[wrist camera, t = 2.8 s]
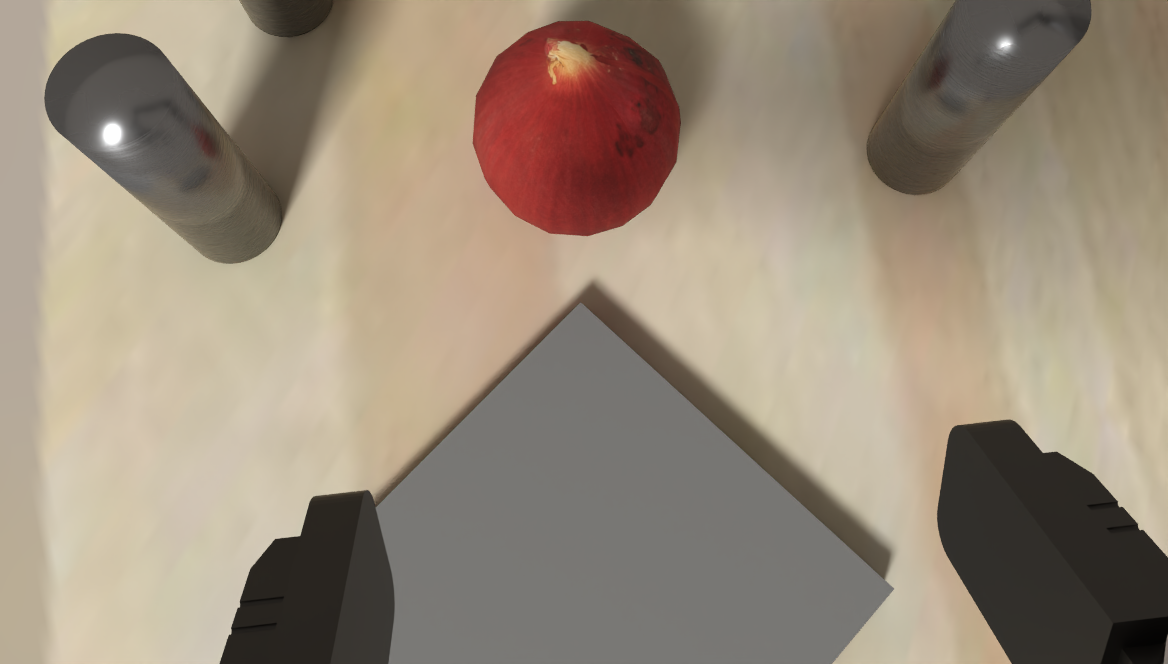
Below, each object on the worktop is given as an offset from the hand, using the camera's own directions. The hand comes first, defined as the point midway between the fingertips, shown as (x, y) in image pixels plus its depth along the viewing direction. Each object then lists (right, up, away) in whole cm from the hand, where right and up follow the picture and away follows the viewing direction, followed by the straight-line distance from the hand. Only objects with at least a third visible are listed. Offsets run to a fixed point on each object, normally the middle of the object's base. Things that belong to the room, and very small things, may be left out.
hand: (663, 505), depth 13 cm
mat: (-1, -5, +13) cm, 14 cm away
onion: (-1, +7, +17) cm, 18 cm away
